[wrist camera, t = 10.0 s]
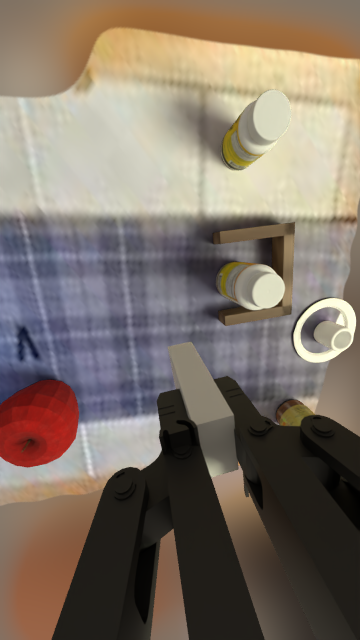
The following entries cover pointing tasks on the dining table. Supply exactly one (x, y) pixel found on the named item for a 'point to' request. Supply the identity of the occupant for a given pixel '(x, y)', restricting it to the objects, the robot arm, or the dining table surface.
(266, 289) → the supplement bottle
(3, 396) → the dining table surface
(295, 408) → the sauce bottle
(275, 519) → the robot arm
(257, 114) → the supplement bottle
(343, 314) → the candle holder
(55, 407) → the apple
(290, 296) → the pocket
